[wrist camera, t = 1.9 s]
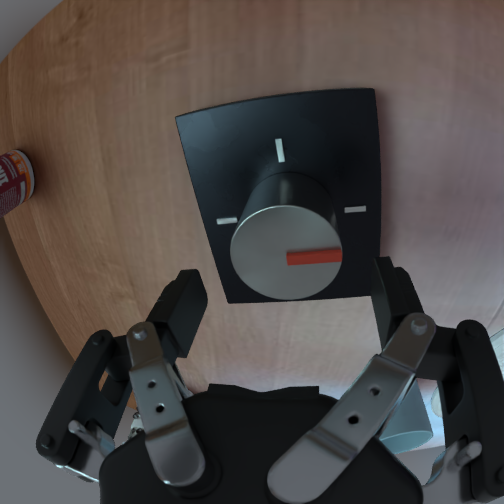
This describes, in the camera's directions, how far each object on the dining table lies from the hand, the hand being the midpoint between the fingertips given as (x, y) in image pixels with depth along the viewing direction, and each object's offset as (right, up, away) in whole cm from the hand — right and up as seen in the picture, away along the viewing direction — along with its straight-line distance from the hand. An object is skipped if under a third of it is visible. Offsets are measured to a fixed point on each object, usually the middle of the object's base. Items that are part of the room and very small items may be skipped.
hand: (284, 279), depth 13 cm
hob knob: (+1, +4, +5) cm, 7 cm away
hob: (+2, +5, +8) cm, 10 cm away
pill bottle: (-27, +10, +10) cm, 31 cm away
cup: (+16, -13, +18) cm, 27 cm away
